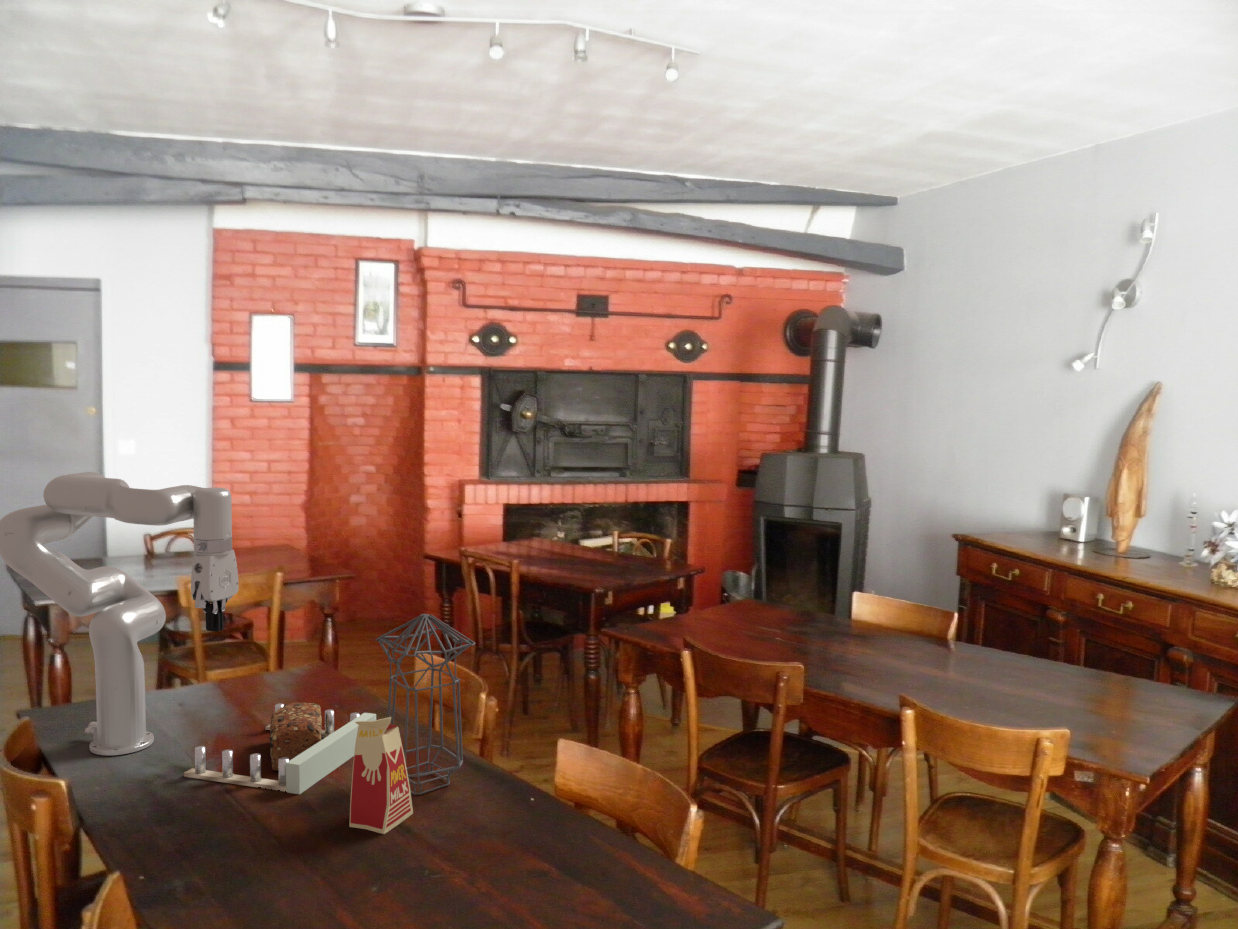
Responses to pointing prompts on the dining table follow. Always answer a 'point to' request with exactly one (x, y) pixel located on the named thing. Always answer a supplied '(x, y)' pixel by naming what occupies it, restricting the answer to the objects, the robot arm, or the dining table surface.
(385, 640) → the geometric lantern
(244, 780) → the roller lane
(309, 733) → the bread
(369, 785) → the milk carton
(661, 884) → the dining table surface
